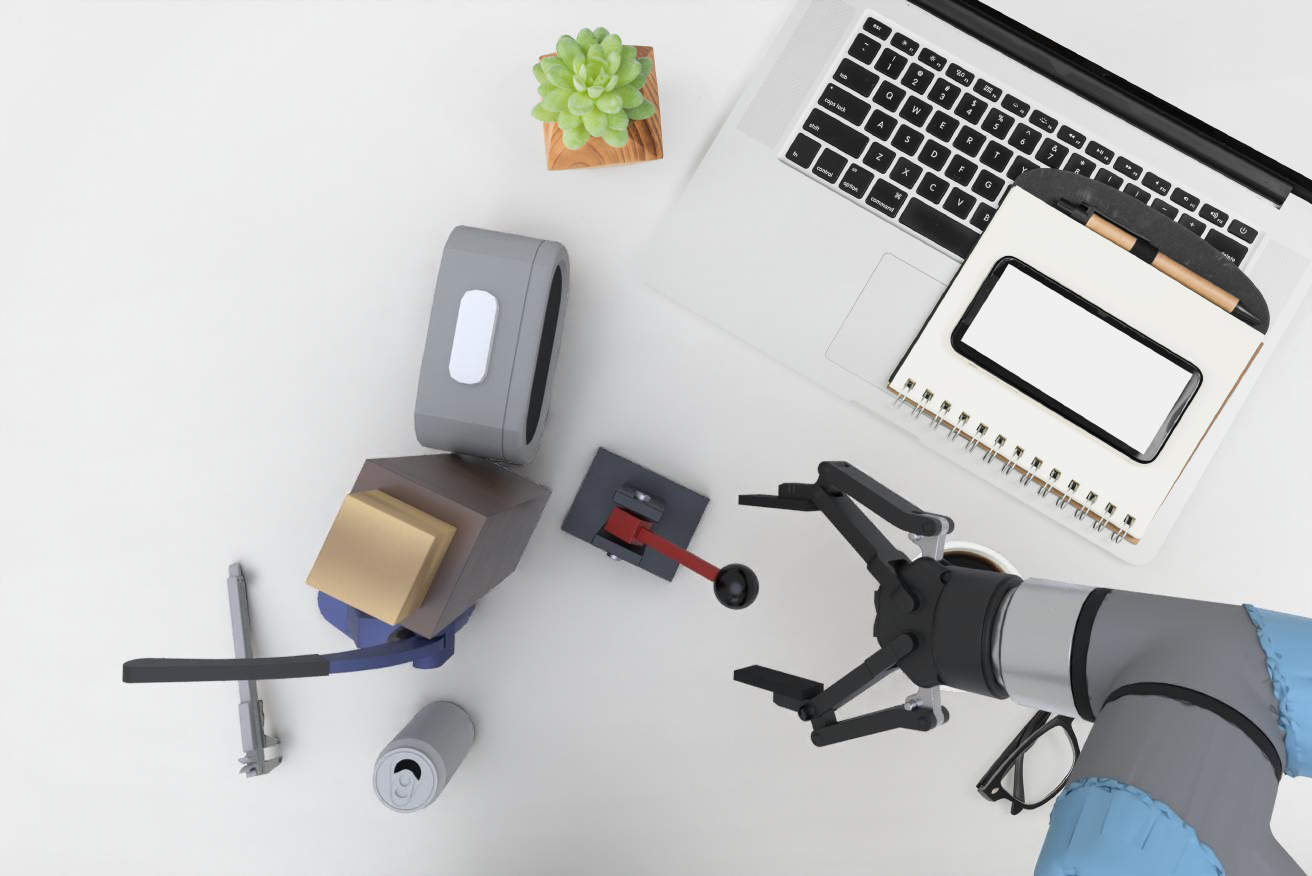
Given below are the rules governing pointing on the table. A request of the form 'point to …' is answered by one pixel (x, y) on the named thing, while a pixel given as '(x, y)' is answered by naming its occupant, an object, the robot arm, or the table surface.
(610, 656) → the table surface
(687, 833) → the table surface
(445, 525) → the jaw block
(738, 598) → the clamp lever
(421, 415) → the alarm clock
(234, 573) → the caliper
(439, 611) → the dark brown block
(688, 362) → the table surface
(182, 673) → the clamp
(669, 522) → the toggle clamp
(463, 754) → the beverage can
